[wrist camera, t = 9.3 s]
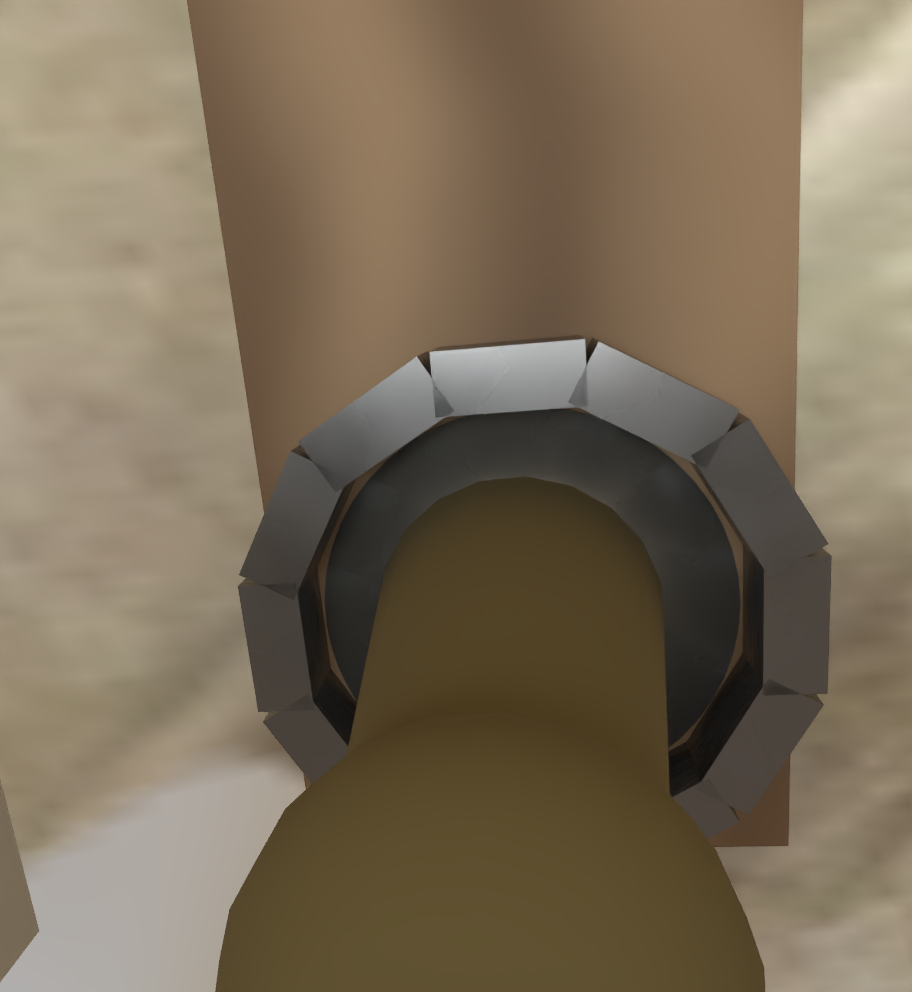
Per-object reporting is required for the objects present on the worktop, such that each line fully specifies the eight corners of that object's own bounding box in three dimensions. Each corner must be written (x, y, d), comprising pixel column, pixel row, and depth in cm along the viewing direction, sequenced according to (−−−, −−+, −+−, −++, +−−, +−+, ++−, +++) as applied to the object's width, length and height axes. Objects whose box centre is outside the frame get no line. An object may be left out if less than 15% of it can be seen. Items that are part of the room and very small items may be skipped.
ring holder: (305, 840, 19) (286, 886, 17) (232, 364, 16) (202, 370, 15) (797, 834, 18) (821, 882, 16) (808, 315, 15) (837, 318, 13)
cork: (342, 517, 16) (-25, 914, 6) (625, 442, 15) (798, 760, 5) (426, 765, 18) (246, 1460, 7) (693, 711, 17) (950, 1433, 6)
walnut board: (331, 809, 20) (315, 851, 19) (190, -178, 15) (151, -233, 14) (767, 801, 19) (788, 845, 18) (778, -275, 14) (808, -346, 12)
